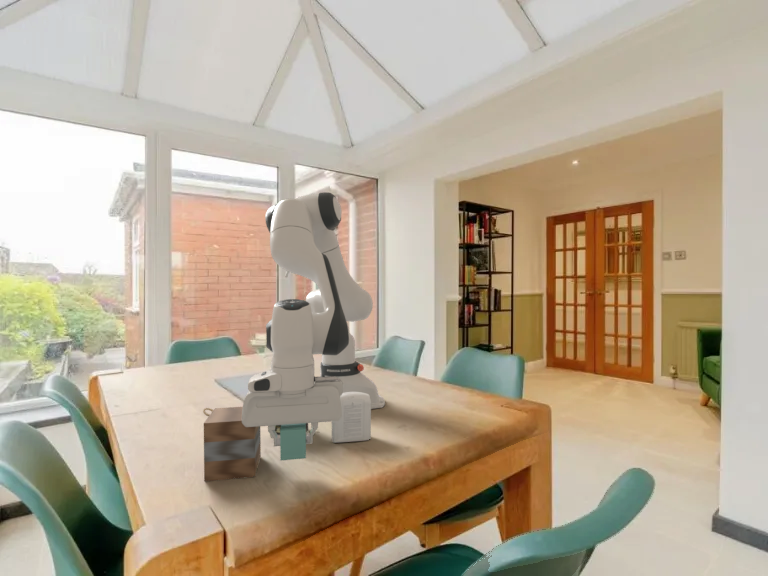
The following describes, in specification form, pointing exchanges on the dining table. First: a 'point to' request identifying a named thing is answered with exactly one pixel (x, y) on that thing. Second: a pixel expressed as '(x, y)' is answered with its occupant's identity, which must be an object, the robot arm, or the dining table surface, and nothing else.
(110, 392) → the dining table surface
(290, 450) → the teal brick
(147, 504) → the dining table surface
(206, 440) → the taped cardboard box
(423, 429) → the dining table surface
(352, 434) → the photo printer
